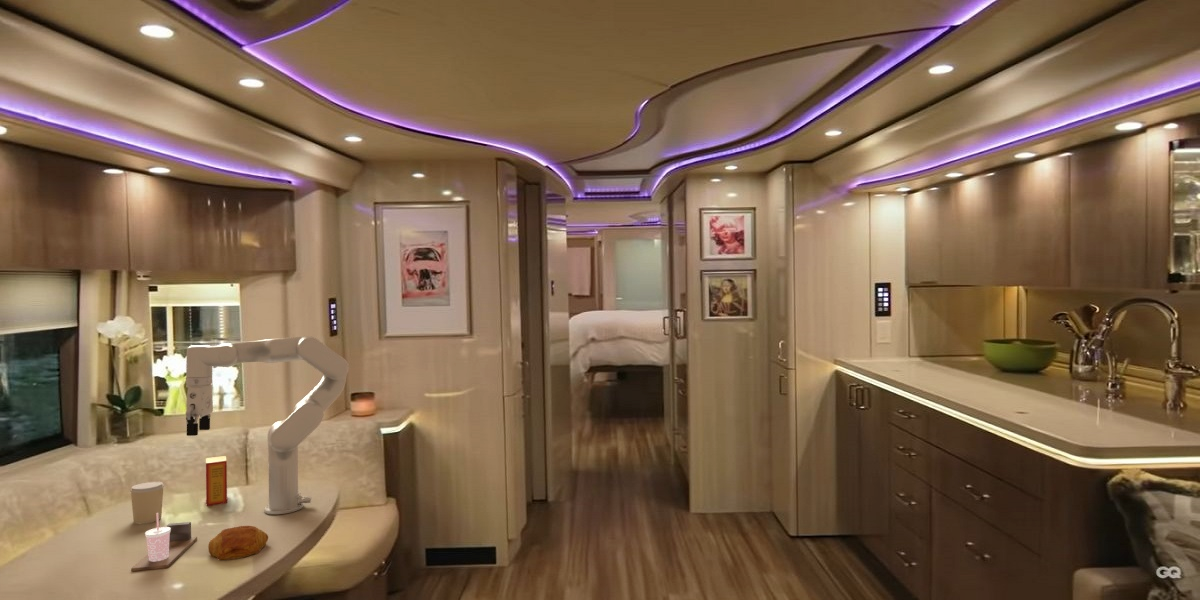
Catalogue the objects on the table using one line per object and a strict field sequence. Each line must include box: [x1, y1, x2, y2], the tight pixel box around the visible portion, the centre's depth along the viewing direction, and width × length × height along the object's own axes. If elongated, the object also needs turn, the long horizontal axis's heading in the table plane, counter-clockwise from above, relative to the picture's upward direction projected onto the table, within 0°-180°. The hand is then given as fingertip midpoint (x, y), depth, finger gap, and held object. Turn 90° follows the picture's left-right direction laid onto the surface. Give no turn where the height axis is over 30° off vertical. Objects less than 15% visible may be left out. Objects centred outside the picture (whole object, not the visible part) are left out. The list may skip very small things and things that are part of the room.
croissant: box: [207, 525, 269, 561], centre depth 193 cm, size 14×16×8 cm
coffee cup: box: [130, 481, 165, 525], centre depth 221 cm, size 9×9×12 cm
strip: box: [130, 521, 198, 572], centre depth 191 cm, size 9×22×6 cm, turn 13°
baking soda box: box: [205, 455, 228, 507], centre depth 241 cm, size 10×6×16 cm
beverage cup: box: [144, 513, 171, 562], centre depth 186 cm, size 6×6×14 cm
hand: (198, 432), depth 218 cm, fingers open, 9 cm apart
